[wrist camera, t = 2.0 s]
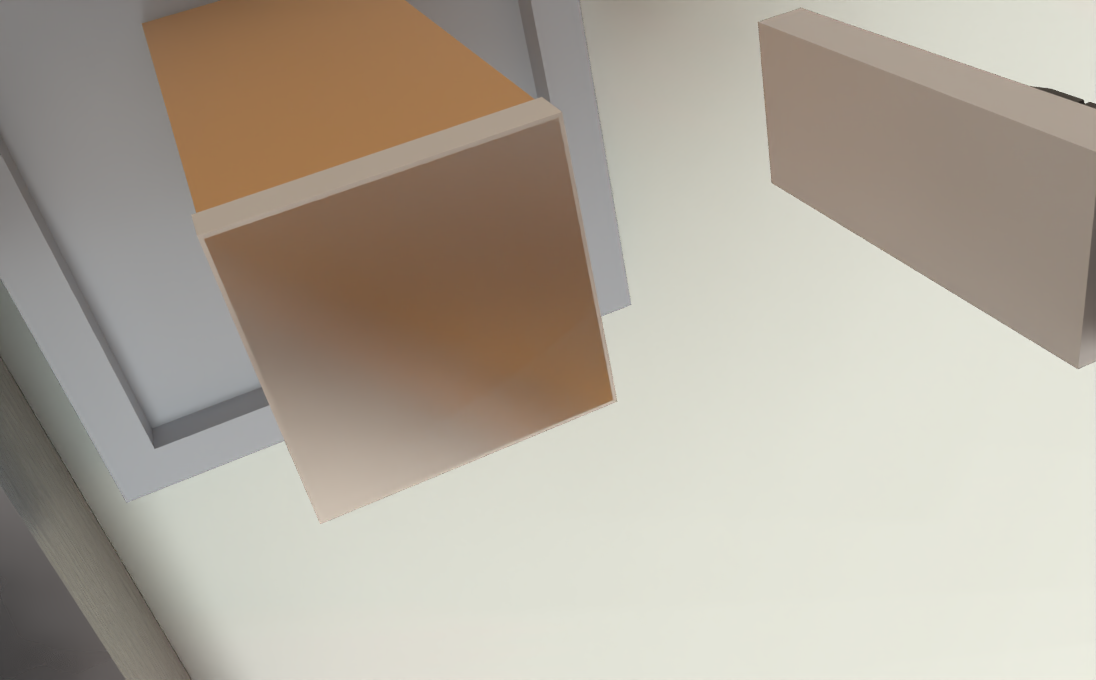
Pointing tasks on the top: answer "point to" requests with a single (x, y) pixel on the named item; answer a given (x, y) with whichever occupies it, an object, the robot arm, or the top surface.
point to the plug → (383, 236)
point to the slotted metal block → (63, 572)
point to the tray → (168, 230)
